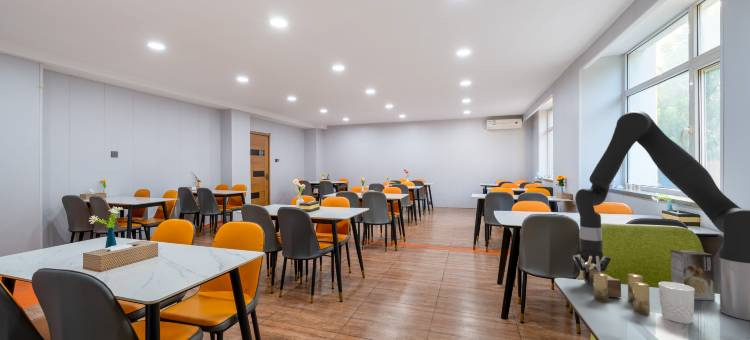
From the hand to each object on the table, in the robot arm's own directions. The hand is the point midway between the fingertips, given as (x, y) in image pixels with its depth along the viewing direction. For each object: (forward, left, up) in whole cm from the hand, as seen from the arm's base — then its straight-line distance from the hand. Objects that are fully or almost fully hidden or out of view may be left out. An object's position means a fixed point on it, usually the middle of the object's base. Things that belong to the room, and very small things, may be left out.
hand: (591, 280), depth 124 cm
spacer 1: (+5, +16, -2) cm, 17 cm away
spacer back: (-2, +25, -2) cm, 25 cm away
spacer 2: (-6, +16, -2) cm, 17 cm away
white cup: (-9, +29, -2) cm, 30 cm away
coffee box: (-29, +9, -2) cm, 30 cm away
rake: (0, +6, -1) cm, 6 cm away
